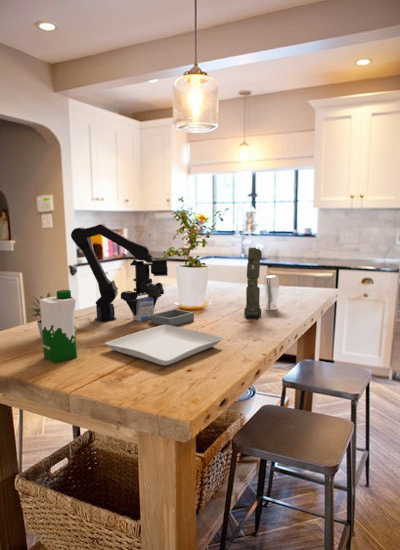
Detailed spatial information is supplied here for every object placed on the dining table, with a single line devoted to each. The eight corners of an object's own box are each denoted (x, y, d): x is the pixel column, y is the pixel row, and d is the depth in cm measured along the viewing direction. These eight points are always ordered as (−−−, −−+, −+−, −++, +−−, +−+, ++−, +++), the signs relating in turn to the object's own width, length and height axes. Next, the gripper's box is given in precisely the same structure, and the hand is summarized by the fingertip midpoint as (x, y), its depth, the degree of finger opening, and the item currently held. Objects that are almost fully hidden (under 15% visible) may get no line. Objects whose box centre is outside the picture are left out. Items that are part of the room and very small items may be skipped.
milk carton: (81, 357, 121) (78, 291, 119) (52, 365, 115) (48, 296, 112) (67, 350, 128) (64, 288, 125) (39, 357, 121) (35, 292, 118)
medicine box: (140, 321, 163) (139, 300, 162) (132, 320, 165) (132, 299, 164) (154, 317, 169) (153, 297, 168) (146, 316, 172) (146, 296, 170)
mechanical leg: (260, 319, 162) (262, 245, 164) (242, 318, 163) (244, 245, 166) (261, 319, 175) (263, 250, 178) (245, 318, 177) (247, 250, 179)
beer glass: (278, 307, 188) (278, 275, 185) (279, 310, 181) (280, 277, 179) (262, 307, 188) (263, 275, 186) (263, 310, 181) (264, 277, 179)
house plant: (26, 333, 147) (23, 289, 144) (66, 329, 151) (64, 286, 149) (24, 345, 133) (21, 296, 131) (68, 340, 138) (66, 293, 136)
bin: (169, 328, 153) (169, 319, 153) (150, 323, 160) (150, 314, 160) (193, 321, 163) (193, 312, 163) (175, 316, 170) (175, 308, 170)
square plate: (164, 333, 148) (163, 323, 147) (225, 348, 130) (225, 336, 130) (103, 352, 127) (103, 340, 126) (166, 373, 110) (166, 359, 109)
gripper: (137, 280, 153) (138, 321, 155) (172, 275, 166) (173, 312, 169) (119, 278, 160) (120, 316, 162) (154, 273, 174) (155, 308, 176)
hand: (143, 313), depth 167 cm, fingers open, 9 cm apart
